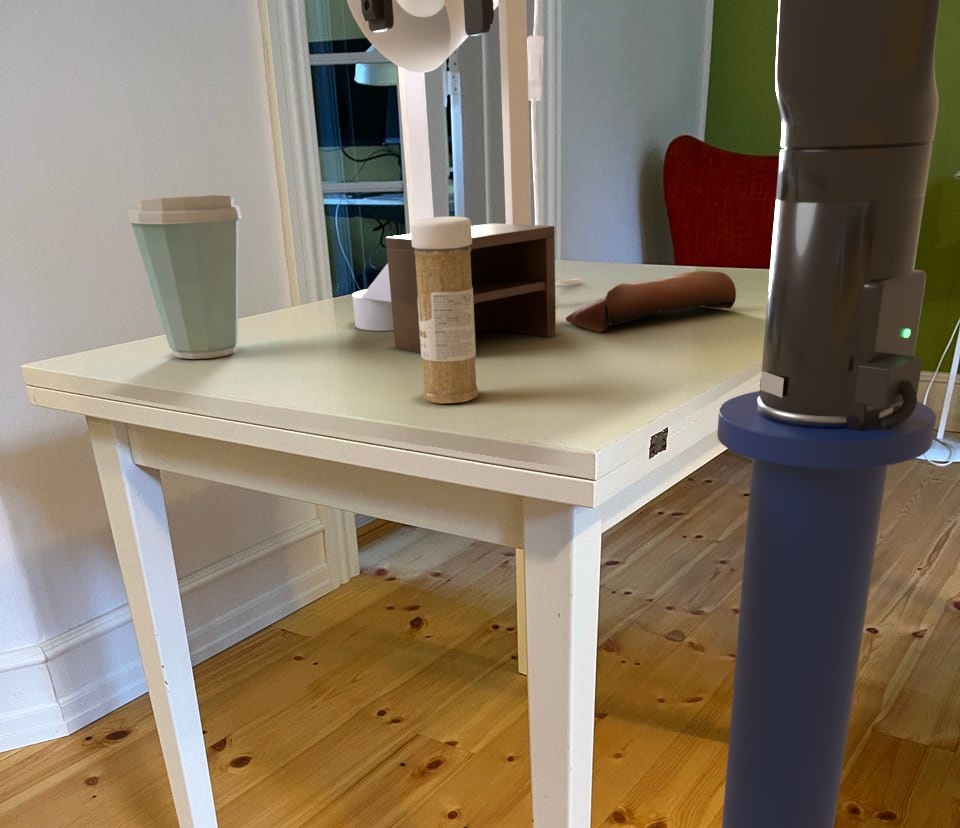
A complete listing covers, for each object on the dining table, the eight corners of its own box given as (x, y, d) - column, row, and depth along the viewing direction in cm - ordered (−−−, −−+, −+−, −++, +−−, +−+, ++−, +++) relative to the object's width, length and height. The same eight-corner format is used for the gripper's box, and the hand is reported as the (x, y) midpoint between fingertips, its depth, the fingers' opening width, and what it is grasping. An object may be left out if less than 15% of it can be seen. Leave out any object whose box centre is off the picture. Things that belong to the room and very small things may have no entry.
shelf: (556, 335, 101) (554, 226, 97) (452, 359, 93) (445, 241, 88) (496, 326, 107) (492, 223, 103) (394, 348, 99) (385, 237, 95)
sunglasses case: (683, 297, 115) (706, 247, 110) (718, 336, 112) (744, 286, 107) (559, 319, 107) (578, 265, 101) (593, 361, 104) (615, 308, 99)
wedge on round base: (475, 324, 109) (400, 313, 118) (472, 259, 106) (395, 253, 115) (412, 337, 104) (339, 325, 112) (407, 270, 101) (332, 263, 109)
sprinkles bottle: (422, 393, 82) (409, 217, 75) (477, 389, 82) (468, 214, 76) (424, 407, 78) (410, 222, 71) (482, 403, 78) (473, 218, 72)
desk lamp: (338, 312, 121) (287, -149, 100) (511, 277, 141) (499, -112, 120) (460, 327, 108) (431, -200, 87) (632, 286, 128) (641, -149, 107)
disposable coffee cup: (151, 350, 104) (120, 195, 98) (252, 339, 108) (230, 188, 101) (159, 369, 96) (127, 200, 89) (270, 356, 99) (247, 192, 92)
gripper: (346, -302, 58) (376, 20, 65) (531, -257, 66) (540, 27, 72) (287, -255, 63) (319, 38, 70) (463, -219, 71) (477, 42, 78)
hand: (431, 32), depth 71 cm, fingers open, 8 cm apart
